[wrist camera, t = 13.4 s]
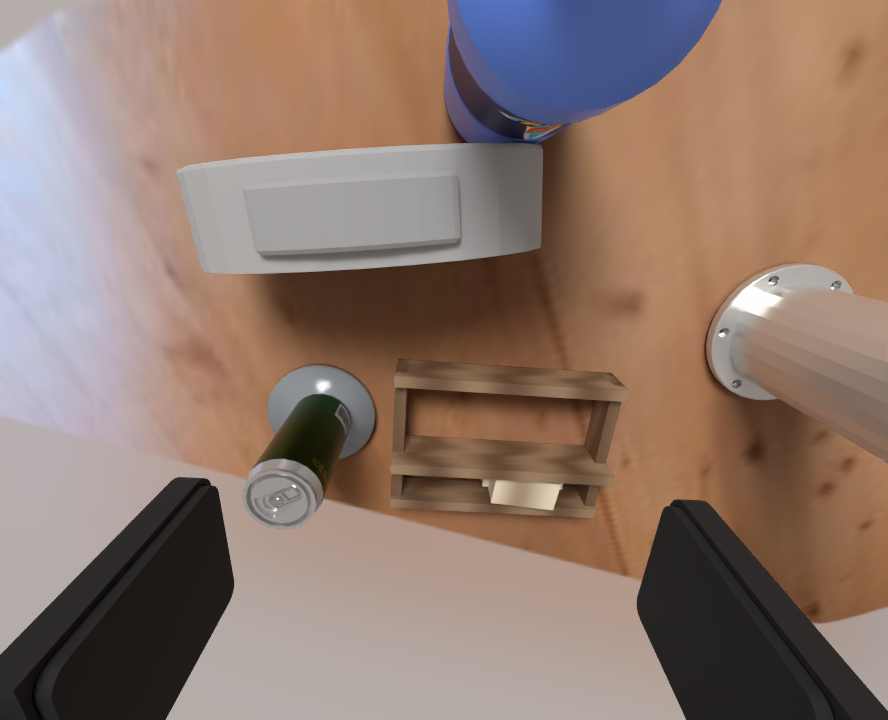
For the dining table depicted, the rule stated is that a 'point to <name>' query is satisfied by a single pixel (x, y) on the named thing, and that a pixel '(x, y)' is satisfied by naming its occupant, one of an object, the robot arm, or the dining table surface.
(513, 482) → the top offcut
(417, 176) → the alarm clock
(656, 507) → the dining table surface
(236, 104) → the dining table surface
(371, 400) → the grey glossy dome
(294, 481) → the beer can
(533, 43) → the water bottle
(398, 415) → the rack
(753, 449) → the dining table surface
